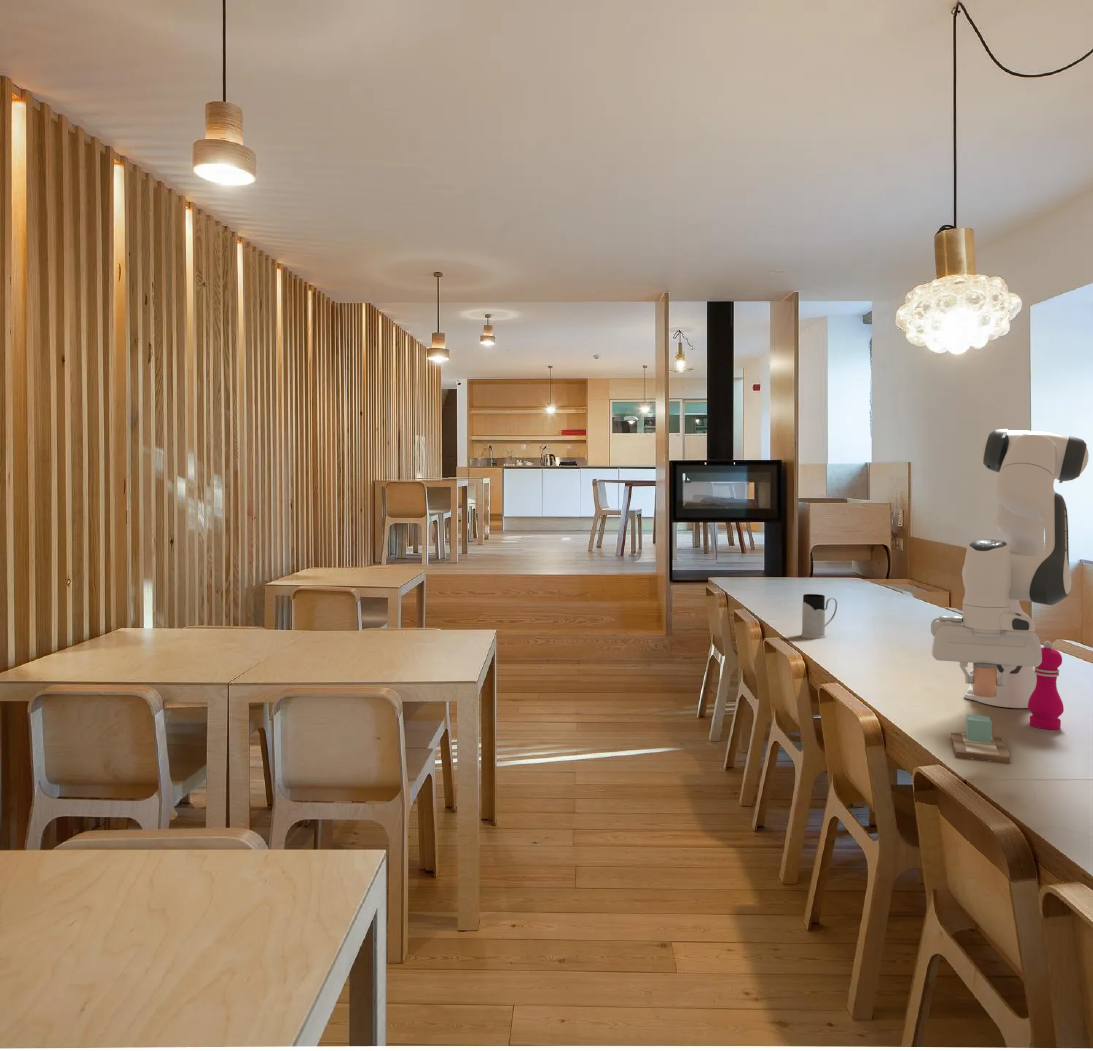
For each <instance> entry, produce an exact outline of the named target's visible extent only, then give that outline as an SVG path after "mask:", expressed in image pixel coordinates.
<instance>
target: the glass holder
mask: <svg viewBox="0 0 1093 1051" xmlns="http://www.w3.org/2000/svg"><path fill="white" fill-rule="evenodd" d="M825 598H826V596H825V595H824V594H820V593H819V594H816V593H806V594H803V595H802V607H801V608H802V614H801V616H802V618H801V619H802V620H801V622H802V624H801V627H802V628H801V634H800V637H801V638H805V639H813V640H820V639H825V638H827V636H826V634H825V633H826V630H825V629H826V627H827V626H828V625H829V624H830V623H831V621H832V620H833V619H834V618H835V616H836V613H837V609H838V601H837V599H836V598H834V597H830V598H828V599H827V600H826V599H825ZM830 600H833V601H834V603H835V606H834V612H833V615H832V616H831V618H830V619H829V620H828V621H827V622H826V611H827V609H828V605H829V601H830ZM825 601H826V603H825Z"/></svg>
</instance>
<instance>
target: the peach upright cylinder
mask: <svg viewBox="0 0 1093 1051" xmlns="http://www.w3.org/2000/svg"><path fill="white" fill-rule="evenodd" d="M972 670H973V676H974V677H973V694H974V695H976V696H980V697H996V691H997V664H985V663H973V664H972Z"/></svg>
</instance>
